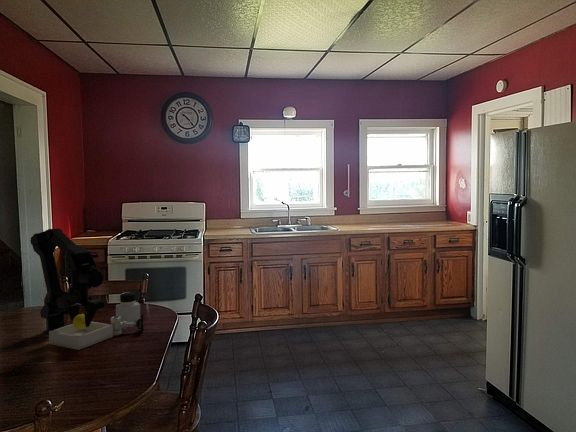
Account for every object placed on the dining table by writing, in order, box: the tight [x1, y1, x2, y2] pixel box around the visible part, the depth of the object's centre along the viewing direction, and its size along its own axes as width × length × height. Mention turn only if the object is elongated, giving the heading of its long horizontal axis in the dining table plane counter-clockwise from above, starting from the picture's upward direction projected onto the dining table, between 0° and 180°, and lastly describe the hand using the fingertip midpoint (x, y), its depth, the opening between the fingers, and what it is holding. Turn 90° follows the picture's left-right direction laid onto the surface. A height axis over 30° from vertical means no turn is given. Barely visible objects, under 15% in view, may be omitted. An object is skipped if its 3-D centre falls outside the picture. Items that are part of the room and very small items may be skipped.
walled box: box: [48, 320, 114, 351], centre depth 160 cm, size 15×15×4 cm
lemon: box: [72, 313, 86, 329], centre depth 160 cm, size 7×5×5 cm
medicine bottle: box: [115, 291, 141, 323], centre depth 184 cm, size 7×7×12 cm
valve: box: [110, 314, 145, 337], centre depth 169 cm, size 7×7×12 cm
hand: (81, 325), depth 160 cm, fingers closed on lemon, 6 cm apart
